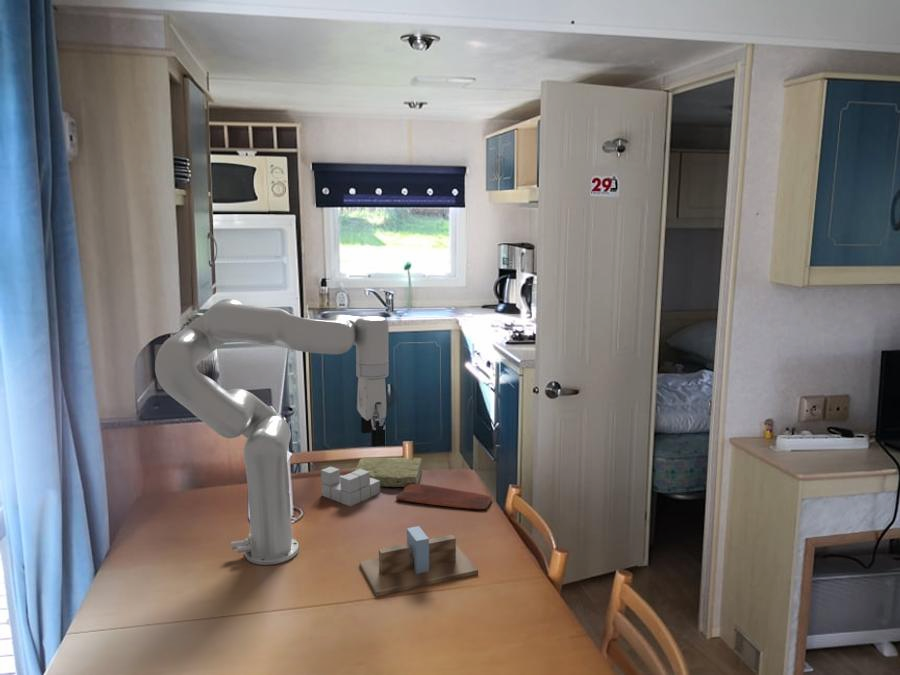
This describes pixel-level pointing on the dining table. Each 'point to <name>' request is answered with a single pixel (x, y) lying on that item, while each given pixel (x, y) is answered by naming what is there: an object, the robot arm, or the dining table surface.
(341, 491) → the puzzle cube
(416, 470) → the olive green flat block
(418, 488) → the wooden tablet
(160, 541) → the dining table surface
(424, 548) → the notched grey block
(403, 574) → the walnut stand
